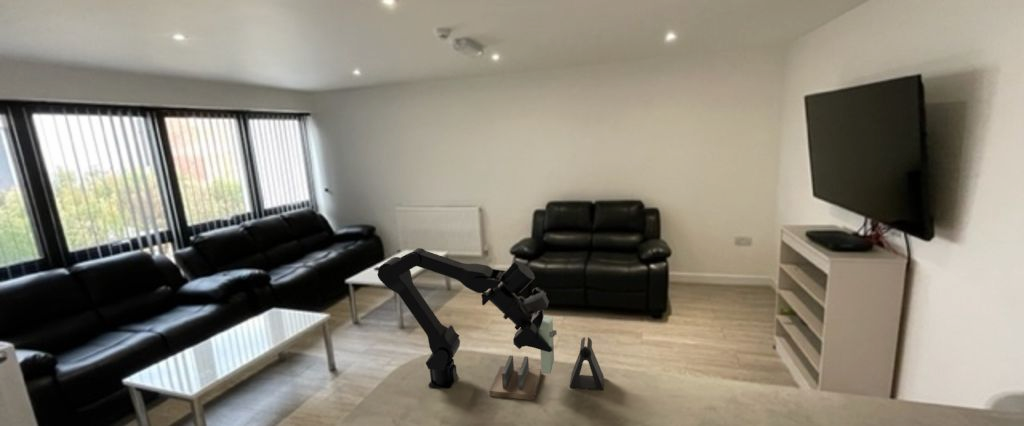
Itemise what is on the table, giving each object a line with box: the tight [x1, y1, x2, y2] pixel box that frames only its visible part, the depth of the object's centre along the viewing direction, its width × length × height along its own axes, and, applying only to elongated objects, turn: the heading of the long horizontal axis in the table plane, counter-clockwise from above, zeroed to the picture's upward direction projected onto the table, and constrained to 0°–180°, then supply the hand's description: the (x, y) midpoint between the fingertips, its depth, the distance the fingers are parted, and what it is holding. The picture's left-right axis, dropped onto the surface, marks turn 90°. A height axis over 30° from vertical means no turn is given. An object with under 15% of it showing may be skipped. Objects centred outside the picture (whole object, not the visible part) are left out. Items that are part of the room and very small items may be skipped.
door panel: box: [540, 316, 557, 375], centre depth 113 cm, size 3×7×12 cm, turn 167°
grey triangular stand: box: [569, 337, 605, 391], centre depth 115 cm, size 9×6×12 cm, turn 77°
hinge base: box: [488, 355, 542, 401], centre depth 117 cm, size 12×12×6 cm
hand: (552, 343), depth 112 cm, fingers closed on door panel, 7 cm apart
